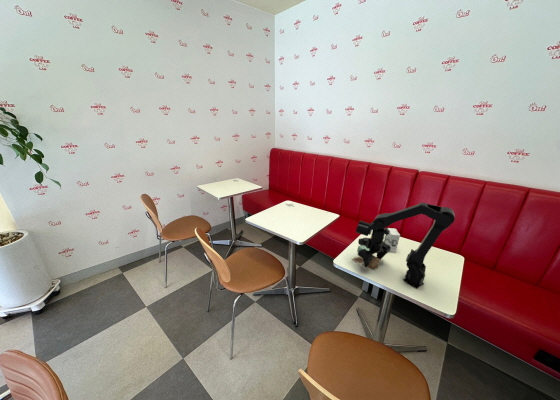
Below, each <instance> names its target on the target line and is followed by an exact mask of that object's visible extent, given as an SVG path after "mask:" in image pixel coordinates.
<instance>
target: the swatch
mask: <svg viewBox="0 0 560 400" xmlns="http://www.w3.org/2000/svg"><path fill="white" fill-rule="evenodd" d="M351 260H352V261H354V263H356V264H357V265H359V266H362V265H364V261H363V258H361V257H360V256H358V255H357V256H355V257H353V258H351Z"/></svg>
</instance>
